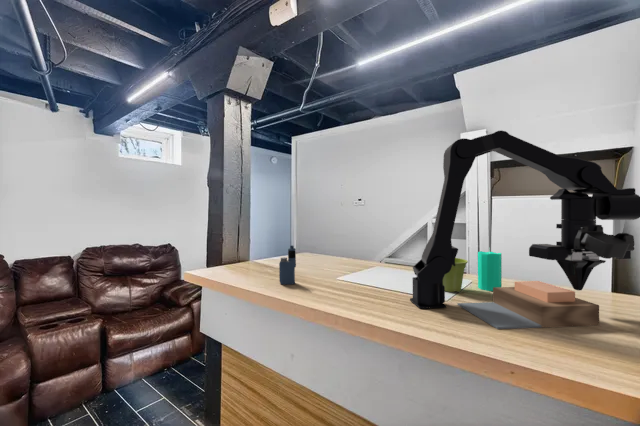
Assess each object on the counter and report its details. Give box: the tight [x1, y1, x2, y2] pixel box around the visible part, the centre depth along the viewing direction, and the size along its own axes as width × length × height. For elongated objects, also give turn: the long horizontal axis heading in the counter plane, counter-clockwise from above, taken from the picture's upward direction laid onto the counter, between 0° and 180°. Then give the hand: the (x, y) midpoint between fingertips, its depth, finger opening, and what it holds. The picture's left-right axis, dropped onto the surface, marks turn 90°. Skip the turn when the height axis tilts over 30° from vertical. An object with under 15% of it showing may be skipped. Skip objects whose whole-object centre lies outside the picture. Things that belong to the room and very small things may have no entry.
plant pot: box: [443, 257, 469, 293], centre depth 82 cm, size 9×9×9 cm
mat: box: [456, 301, 543, 330], centre depth 62 cm, size 9×14×1 cm, turn 4°
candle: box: [477, 247, 503, 292], centre depth 83 cm, size 6×6×12 cm
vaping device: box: [278, 245, 297, 285], centre depth 90 cm, size 3×5×12 cm, turn 89°
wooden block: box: [492, 286, 600, 328], centre depth 63 cm, size 12×14×4 cm
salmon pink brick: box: [514, 280, 576, 302], centre depth 63 cm, size 6×9×2 cm, turn 4°
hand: (577, 290), depth 63 cm, fingers closed
